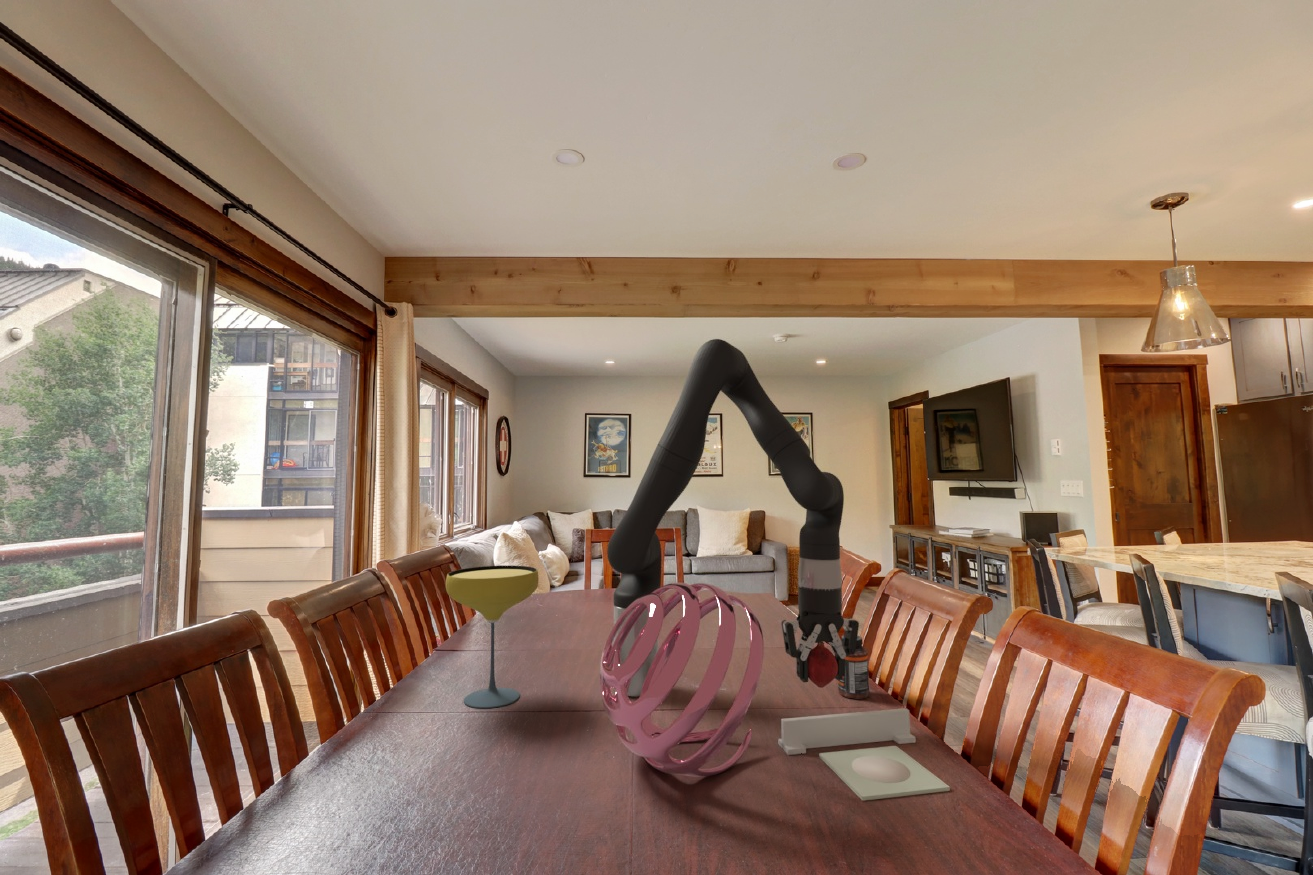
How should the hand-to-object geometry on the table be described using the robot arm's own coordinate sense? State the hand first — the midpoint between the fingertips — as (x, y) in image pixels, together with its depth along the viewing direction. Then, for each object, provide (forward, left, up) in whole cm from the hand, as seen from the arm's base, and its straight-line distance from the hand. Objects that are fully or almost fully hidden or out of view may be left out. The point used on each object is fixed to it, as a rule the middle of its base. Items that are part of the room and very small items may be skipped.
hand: (820, 679), depth 105 cm
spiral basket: (-28, -8, -8) cm, 30 cm away
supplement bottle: (+12, +12, -8) cm, 19 cm away
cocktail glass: (-59, +25, -8) cm, 64 cm away
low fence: (0, -8, -8) cm, 11 cm away
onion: (0, 0, -2) cm, 2 cm away
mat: (0, -18, -8) cm, 20 cm away
